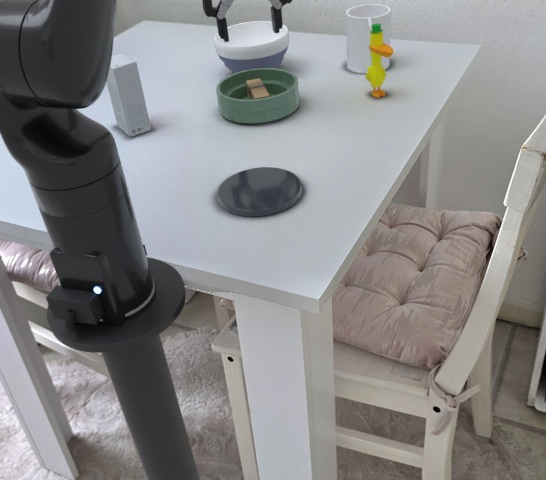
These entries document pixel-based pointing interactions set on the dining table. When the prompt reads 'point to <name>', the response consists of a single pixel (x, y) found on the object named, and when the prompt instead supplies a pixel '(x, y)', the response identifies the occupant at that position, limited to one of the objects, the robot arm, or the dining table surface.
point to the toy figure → (377, 59)
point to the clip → (256, 89)
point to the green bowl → (258, 110)
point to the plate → (259, 191)
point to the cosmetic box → (127, 96)
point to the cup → (365, 35)
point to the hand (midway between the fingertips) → (251, 36)
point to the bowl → (252, 46)
